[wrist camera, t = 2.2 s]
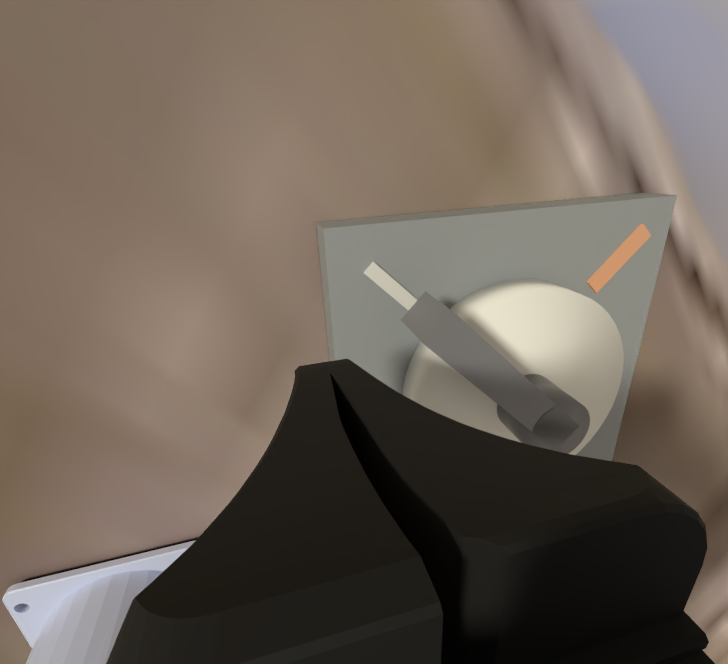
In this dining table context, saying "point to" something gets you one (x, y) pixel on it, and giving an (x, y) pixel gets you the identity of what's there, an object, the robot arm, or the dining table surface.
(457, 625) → the robot arm
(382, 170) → the dining table surface
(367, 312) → the dial plate
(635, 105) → the dining table surface
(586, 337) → the dial
